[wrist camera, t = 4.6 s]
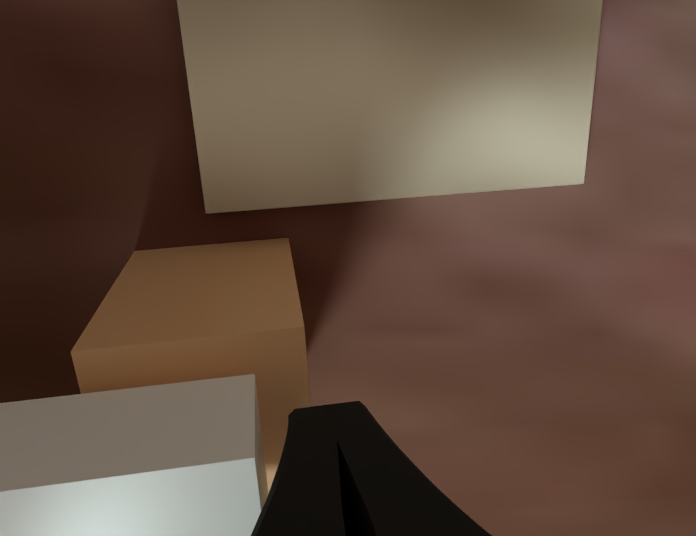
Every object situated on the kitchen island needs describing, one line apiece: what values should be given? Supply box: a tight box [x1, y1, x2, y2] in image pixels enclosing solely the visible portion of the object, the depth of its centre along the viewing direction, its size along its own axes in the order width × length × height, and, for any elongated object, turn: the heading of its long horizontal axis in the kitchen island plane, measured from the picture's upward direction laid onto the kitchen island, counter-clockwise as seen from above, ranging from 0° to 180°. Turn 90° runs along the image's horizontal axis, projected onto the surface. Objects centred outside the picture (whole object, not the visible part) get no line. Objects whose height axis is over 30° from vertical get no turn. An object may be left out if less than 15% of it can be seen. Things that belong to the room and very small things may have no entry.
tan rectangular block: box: [71, 238, 311, 492], centre depth 13 cm, size 4×4×6 cm
